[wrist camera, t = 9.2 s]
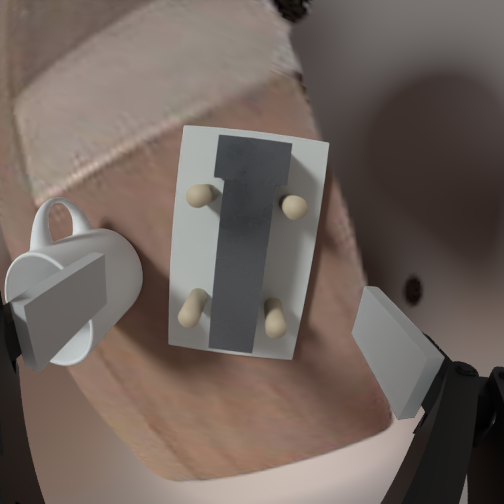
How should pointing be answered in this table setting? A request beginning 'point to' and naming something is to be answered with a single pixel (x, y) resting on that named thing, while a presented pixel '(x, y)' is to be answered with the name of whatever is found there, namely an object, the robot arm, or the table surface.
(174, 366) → the table surface
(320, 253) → the table surface
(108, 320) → the mug
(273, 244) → the rack
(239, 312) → the grey bar
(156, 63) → the table surface
